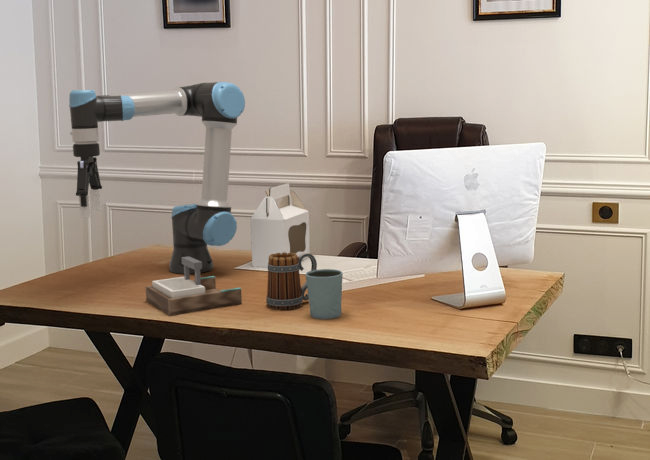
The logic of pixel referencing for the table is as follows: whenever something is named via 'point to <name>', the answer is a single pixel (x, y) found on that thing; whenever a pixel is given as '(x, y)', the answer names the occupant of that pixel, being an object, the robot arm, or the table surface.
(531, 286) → the table surface
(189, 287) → the white box with handle
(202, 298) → the bay
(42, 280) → the table surface
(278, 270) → the mug
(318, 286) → the teal coffee mug
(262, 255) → the gable box
